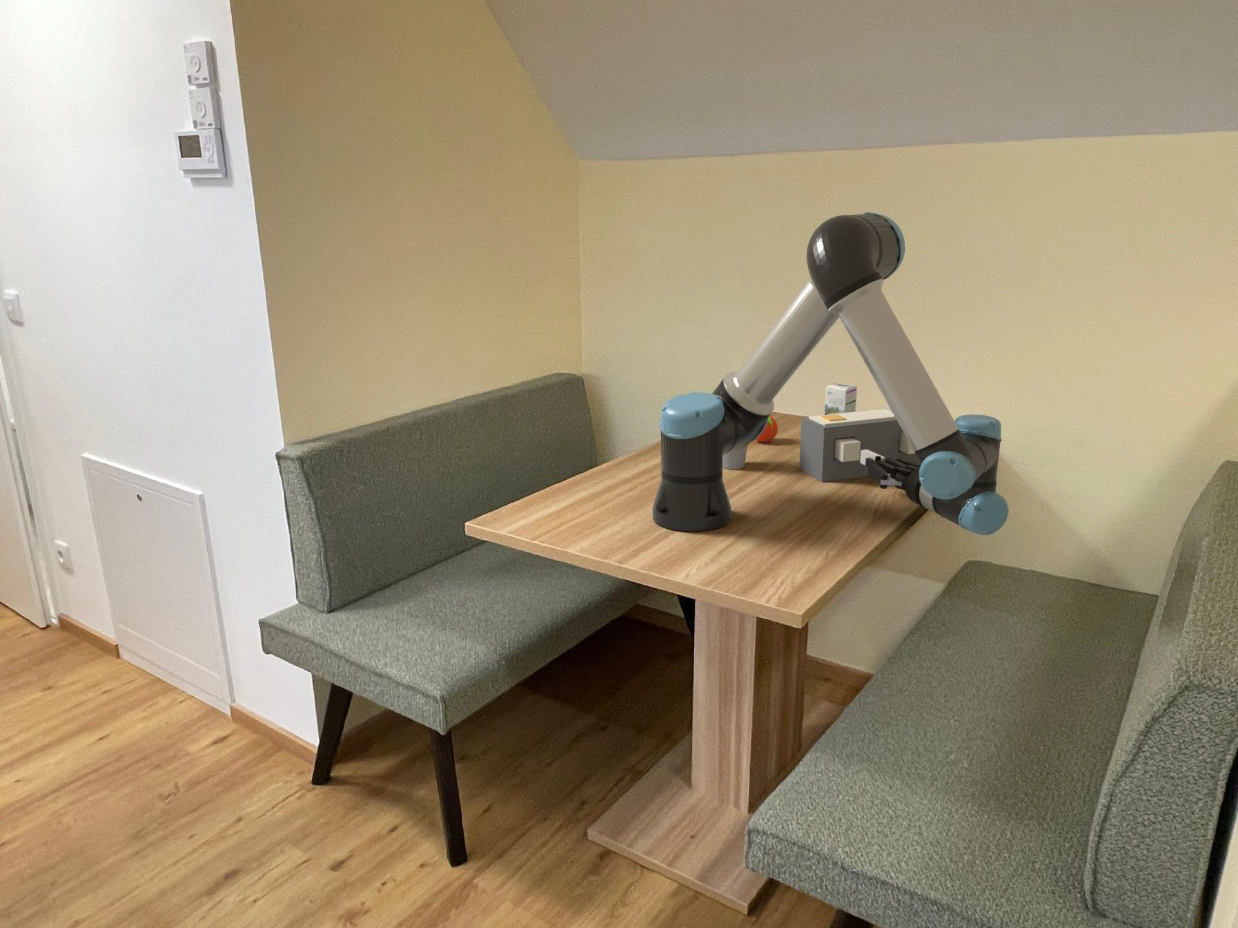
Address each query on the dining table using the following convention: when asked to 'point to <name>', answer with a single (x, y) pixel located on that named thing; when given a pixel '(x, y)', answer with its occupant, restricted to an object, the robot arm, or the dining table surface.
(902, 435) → the right button
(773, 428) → the clementine
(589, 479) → the dining table surface
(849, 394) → the syrup box
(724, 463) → the coffee cup
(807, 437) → the console
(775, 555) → the dining table surface
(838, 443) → the left button
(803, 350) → the robot arm
